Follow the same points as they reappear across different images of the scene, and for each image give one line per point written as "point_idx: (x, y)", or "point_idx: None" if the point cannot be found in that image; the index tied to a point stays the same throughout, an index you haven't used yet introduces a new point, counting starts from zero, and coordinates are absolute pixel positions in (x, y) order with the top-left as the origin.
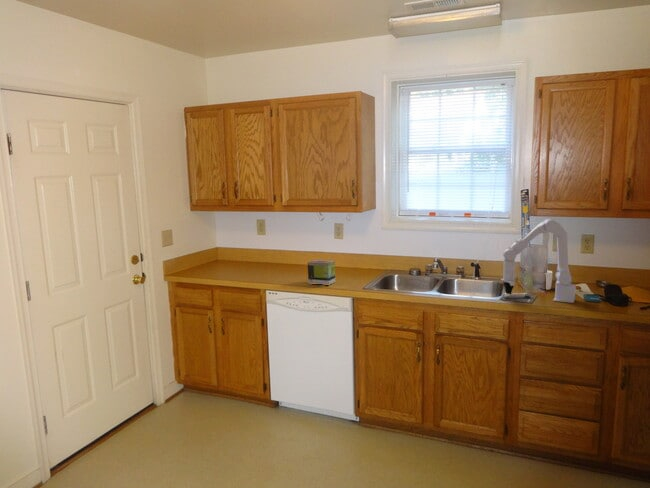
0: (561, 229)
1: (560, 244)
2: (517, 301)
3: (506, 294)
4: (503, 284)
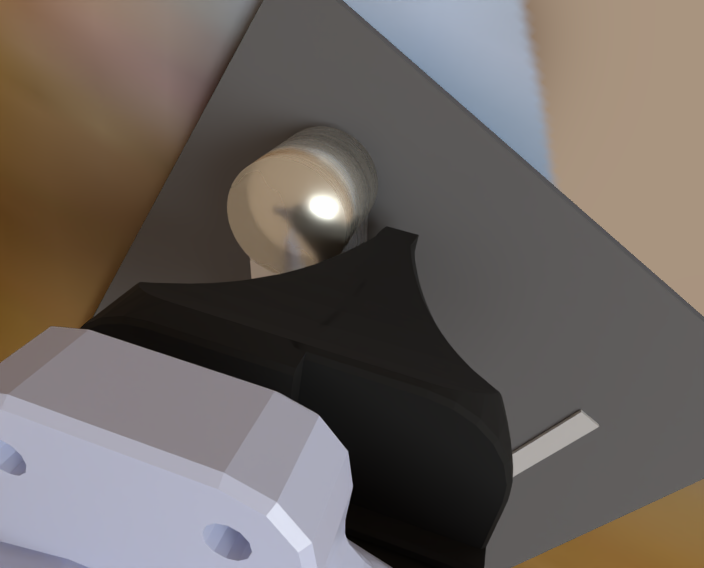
0: None
1: None
2: (129, 255)
3: (240, 174)
4: (447, 367)
